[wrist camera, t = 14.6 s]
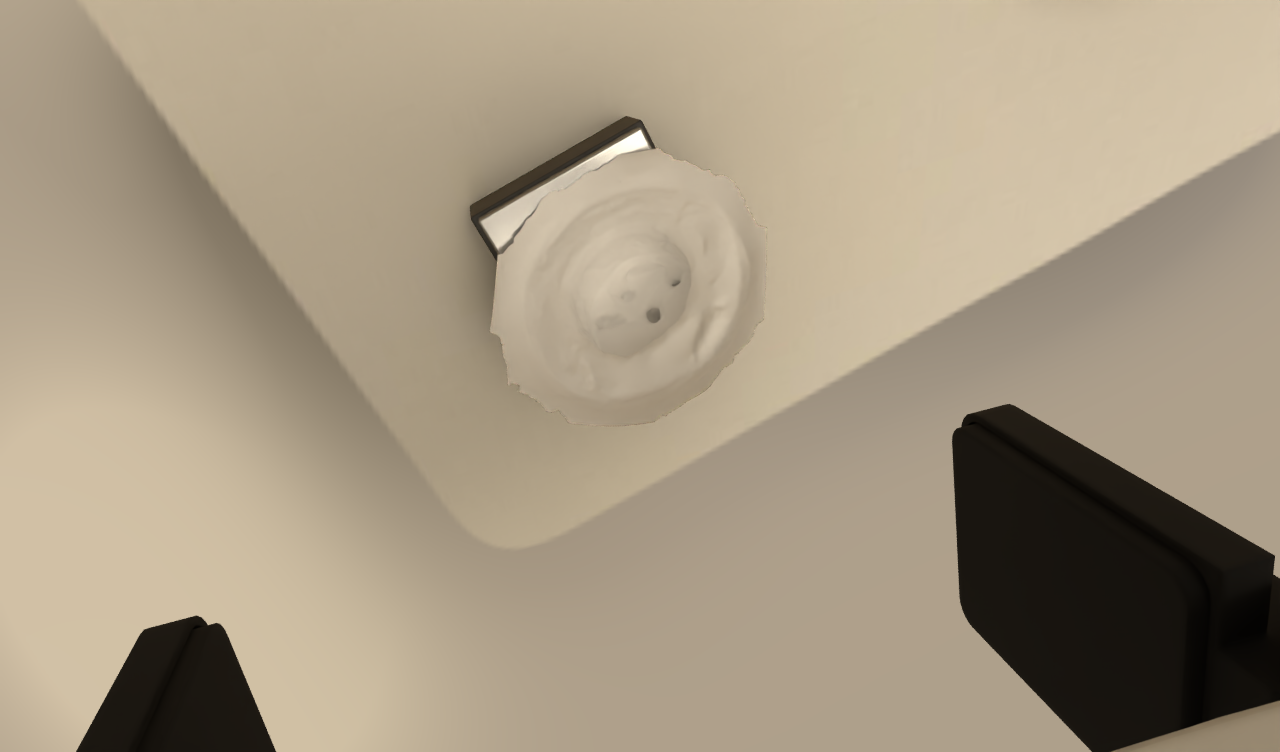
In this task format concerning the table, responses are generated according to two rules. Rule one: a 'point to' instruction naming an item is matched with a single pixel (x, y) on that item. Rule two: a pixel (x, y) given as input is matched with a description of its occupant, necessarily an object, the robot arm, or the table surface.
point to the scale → (551, 170)
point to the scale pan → (517, 210)
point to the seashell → (630, 290)
